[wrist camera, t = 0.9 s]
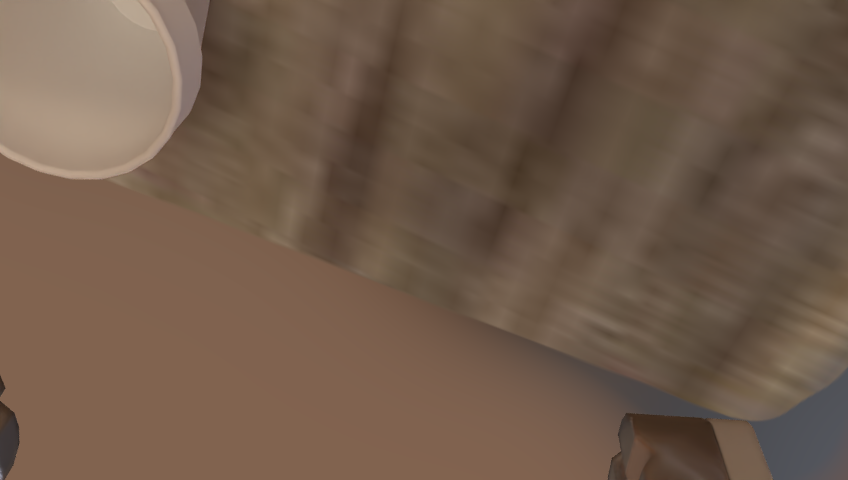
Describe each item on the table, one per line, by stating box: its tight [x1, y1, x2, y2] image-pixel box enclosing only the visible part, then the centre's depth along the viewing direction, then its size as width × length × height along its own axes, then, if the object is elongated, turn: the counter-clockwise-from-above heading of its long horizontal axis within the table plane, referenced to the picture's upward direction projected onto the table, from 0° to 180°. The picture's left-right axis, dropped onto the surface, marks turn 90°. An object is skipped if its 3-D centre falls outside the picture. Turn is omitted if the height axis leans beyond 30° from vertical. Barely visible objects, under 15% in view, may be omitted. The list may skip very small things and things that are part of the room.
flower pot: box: [0, 0, 210, 179], centre depth 41 cm, size 12×12×14 cm
